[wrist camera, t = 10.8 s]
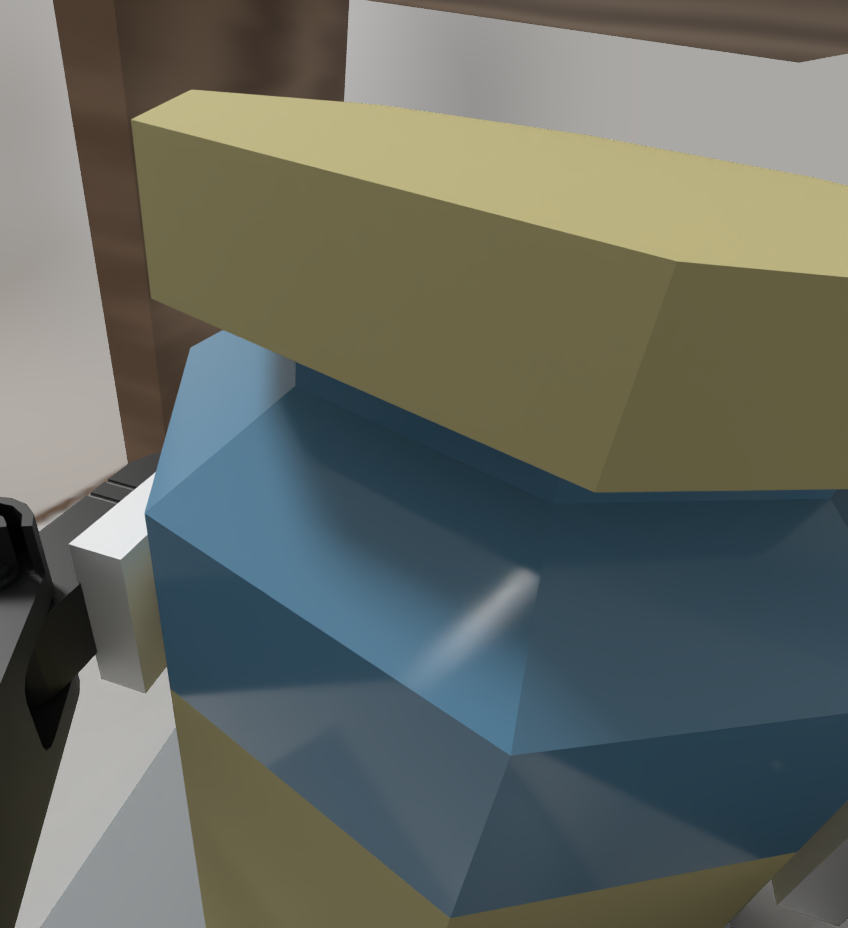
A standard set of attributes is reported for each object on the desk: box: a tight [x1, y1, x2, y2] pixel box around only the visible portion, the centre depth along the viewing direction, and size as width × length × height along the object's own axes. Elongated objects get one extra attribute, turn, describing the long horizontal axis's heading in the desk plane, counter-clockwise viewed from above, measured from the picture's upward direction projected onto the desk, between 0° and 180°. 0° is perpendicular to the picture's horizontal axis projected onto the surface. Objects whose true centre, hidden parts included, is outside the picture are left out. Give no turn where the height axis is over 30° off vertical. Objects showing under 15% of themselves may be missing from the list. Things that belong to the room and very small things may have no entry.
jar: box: [131, 90, 848, 928], centre depth 10 cm, size 9×9×15 cm
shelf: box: [53, 0, 848, 464], centre depth 22 cm, size 14×18×22 cm
